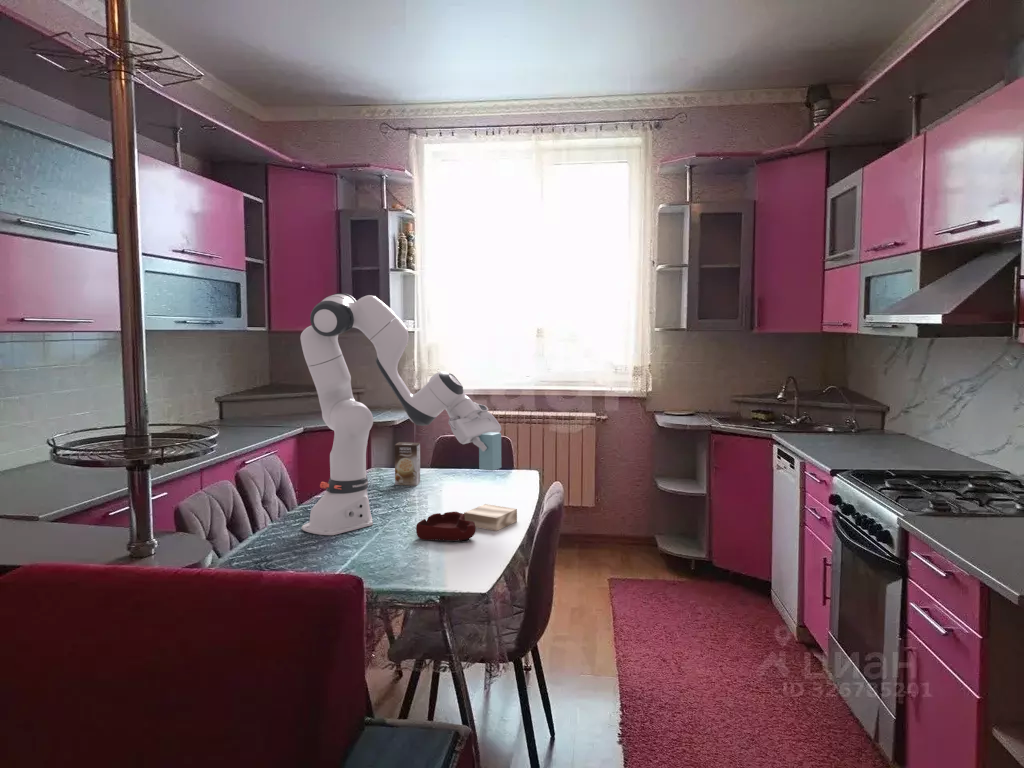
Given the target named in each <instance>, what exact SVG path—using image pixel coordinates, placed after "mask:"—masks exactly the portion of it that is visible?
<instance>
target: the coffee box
mask: <svg viewBox="0 0 1024 768" xmlns="http://www.w3.org/2000/svg"><path fill="white" fill-rule="evenodd" d="M420 483H421V442H407V441H406V442H405V441H399V442H397V443H395V444H394V486H415V487H417V486H418V485H419V484H420Z"/></svg>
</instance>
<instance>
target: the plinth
mask: <svg viewBox="0 0 1024 768" xmlns="http://www.w3.org/2000/svg"><path fill="white" fill-rule="evenodd" d="M463 514H464V515H465V520H466V521H473V522H474V523H475V527H476V529H477V528H478V529H483V530H488V531H494V532H497V531H500V530H502V529H504V528H506V527H508V526H510V525H513V524H515V523H516V522H517V521H518V509H517V508H513V507H506V506H501V505H496V504H494V505H493V504H489V503H485V504H481V505H479V506H477V507H474V508H471V509H470V510H467V511H465V512H464V513H463Z"/></svg>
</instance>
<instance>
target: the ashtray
mask: <svg viewBox="0 0 1024 768" xmlns="http://www.w3.org/2000/svg"><path fill="white" fill-rule="evenodd" d="M415 526H416V527H415V533H416V536H417V538H418V539H420V540H422V541H423V540H424V541H449V542H450V541H452V542H457V541H458V542H463V543H464V542H469V541H470V539H471V538H473V537H474V535H475V534H476V532H477V531H476V530H477V527H475V523H474V522H473V521H466V520H465V515H464V513H461V512H458V511H448V512H444V513H443V514H441V513H439V512H438V513H433V514H432V515H430V516H429V515H428V516H427V520H426V518H424V519H422V520H420V521H419V522H417V523H416V525H415Z"/></svg>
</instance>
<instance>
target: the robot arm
mask: <svg viewBox="0 0 1024 768" xmlns="http://www.w3.org/2000/svg"><path fill="white" fill-rule="evenodd" d="M309 319H310V321H309V322H310V325H309V326H307V327H306V328H304V329H303V331H302V332H301V334H300V338H299V339H300V344H301V349H302V352H303V356H304V359H305V363H306V365H307V367H308V371H309V373H310V375H311V378H312V382H313V383H314V386H315V389H316V393H317V397H318V401H319V402H318V403H319V406H320V410H321V417H322V420H323V422H324V424H325V425H326V426H327V427H328V428H329V429H330V430H332V431H334V435H333V442H332V443H333V444H332V446H331V447H332V448H331V451H330V453H329V468H330V469H329V471H330V472H329V473H330V474H329V475H330V476H329V479H328V482H325V481H321V482H320V484H319V487H320V489H325V490H326V492H324V494H323V495H322V497H320V499H319V500H318V501H317V502H316V503H315V504H314V505H313V506H312V508H311V509H310V515H309V521H308V522H307V523H304V524H303V525H302V526H301V530H302V531H304V532H307V533H310V534H314V535H321V536H334V535H335V536H337V535H339V534H342V533H346V532H347V533H348V532H351V531H355V530H358V529H363V528H366V527H370V526H373V525H374V522H373V517H372V512H371V508H370V500H369V495H368V488H369V481H368V480H369V479H368V475H367V448H368V447H367V446H368V440H369V435H370V430H371V429H372V427H373V425H374V417H373V413H372V411H371V410H370V408H368V406H367V405H366V404H364V403H362V402H360V401H356V399H355V397H354V393H353V390H352V389H353V388H352V376H351V373H350V370H349V368H348V365H347V363H346V360H345V357H344V355H343V351H342V349H341V347H340V344H339V340H338V339H339V335H341V334H343V333H346V332H348V331H350V330H351V329H353V328H355V329H358V330H359V331H360V332H362V334H363V335H364V336H365V337H366V338H367V339H368V340H370V342H371V343H372V345H373V346H374V349H375V351H376V357H375V363H376V365H377V367H378V370H379V371H380V373H381V374H382V376H383V378H384V379H385V382H386V383H387V384H388V386H389V387H390V389H391V390H392V392H393V393H394V395H395V397H397V399H398V401H399V402H400V404H401V406H402V408H403V410H404V411H405V413H406V415H407V417H408V419H409V420H410V421H411V423H413V424H415V425H416V426H423V427H424V426H430V425H431V424H432V422H434V420H435V419H437V417H438V416H440V414H442V412H444V410H445V411H446V412H447V415H448V417H449V418H448V425H449V426H450V430H451V432H452V434H453V435H454V437H455V438H456V440H457V441H458V443H460V444H462V445H466V444H469V443H470V444H471V443H472V444H473V445H475V446H476V447H477V448H478V449H479V448H480V449H481V450H482V451H486V450H487V449H488V446H487V444H486V443H485V444H484V443H483V442H482V441H480V438H479V436H481V434H484V433H488V432H497V433H501V431H502V425H501V424H500V423H499V421H498V420H497V418H496V417H495V416H494V415H493V414H492V413H491V412H490V411H489V410H490V409H489V408H488V407H487V405H484V404H481V403H477V402H474V401H473V400H472V399H471V398H470V397H469V396H468V395H467V394H466V392H465V391H464V387H463V385H462V383H461V382H460V381H459V380H458V379H457V377H456V376H455V375H454V374H452V373H449V372H446V371H439V372H436V373H435V374H433V375H432V376H431V377H430V378H429V380H428V382H427V383H426V384H425V385H424V386H422V387H421V388H420V389H419V390H418V391H417V392H416V393H412V392H411V391H410V389H409V387H408V386H407V385H406V383H405V381H404V380H403V378H402V377H401V375H400V374H399V371H398V365H399V362H400V359H401V358H402V356H403V354H404V352H405V350H406V348H407V345H408V342H409V338H410V337H409V330H408V327H407V326H406V324H405V323H404V322H403V321H402V320H401V318H400V317H399V316H398V315H397V314H396V313H395V312H394V311H393V310H392V309H391V308H390V307H389V306H388V305H387V304H386V303H385V302H383V300H381V299H379V298H378V297H377V296H376V295H372V294H371V295H370V294H368V295H365V296H362V297H360V298H359V299H357V300H356V298H354V296H352V295H350V294H349V293H344V292H337V293H334V294H332V295H329V296H327V297H325V298H324V299H322V300H321V301H320V302H319V303H317V304H316V305H314V307H313V308H312V310H311V312H310V318H309Z"/></svg>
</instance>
